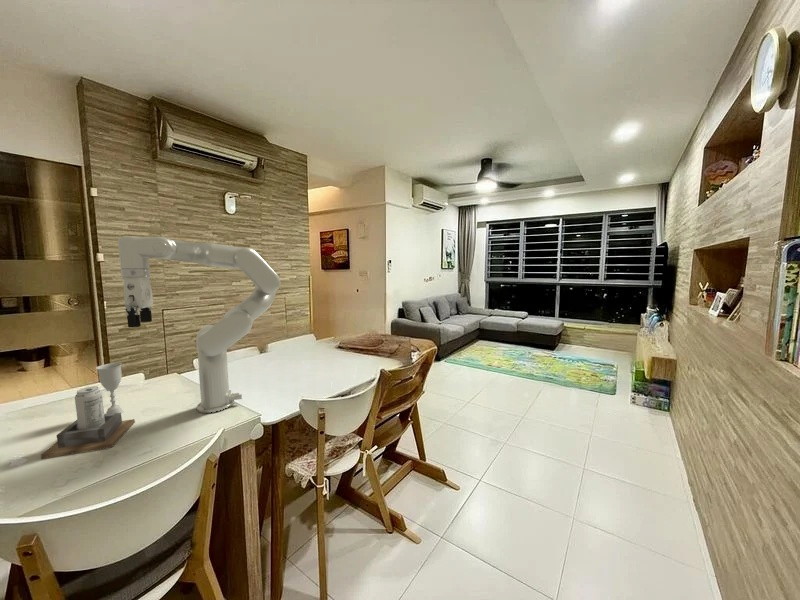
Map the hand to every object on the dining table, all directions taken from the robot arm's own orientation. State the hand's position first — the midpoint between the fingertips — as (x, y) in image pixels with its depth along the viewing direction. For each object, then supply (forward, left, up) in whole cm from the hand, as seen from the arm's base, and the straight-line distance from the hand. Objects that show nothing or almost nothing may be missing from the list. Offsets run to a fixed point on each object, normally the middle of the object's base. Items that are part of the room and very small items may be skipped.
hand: (140, 324), depth 109 cm
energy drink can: (+12, +9, -33) cm, 36 cm away
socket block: (+12, +9, -34) cm, 37 cm away
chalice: (+14, -10, -34) cm, 39 cm away
